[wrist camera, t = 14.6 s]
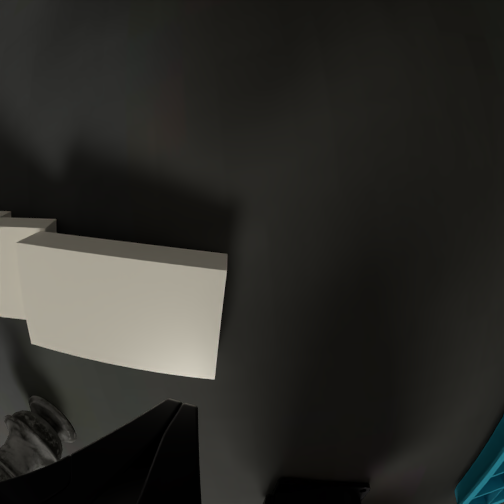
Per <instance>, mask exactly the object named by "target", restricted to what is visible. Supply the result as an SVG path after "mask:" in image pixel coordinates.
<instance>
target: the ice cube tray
mask: <svg viewBox="0 0 504 504" xmlns="http://www.w3.org/2000/svg"><path fill="white" fill-rule="evenodd" d="M455 496H456V501H457V504H500V503H502V502H504V415H503V417H502V419H501V421H500V422H499V424H498V426H497V427H496V429H495V431H494V433H493V434H492V436H491V437H490V439H489V441H488V442H487V444H486V445H485V447H484V449H483V450H482V452H481V453H480V455H479V456H478V458H477V459H476V460H475V462H474V463H473V465H472V466H471V468H470V469H469V470H468V472H467V473H466V474H465V476H464V477H463V478H462V480H461V481H460V482H459V484H458V485H457V486H456V488H455Z"/></svg>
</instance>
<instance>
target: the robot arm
mask: <svg viewBox="0 0 504 504" xmlns="http://www.w3.org/2000/svg"><path fill="white" fill-rule="evenodd" d="M369 491H370V485H369V484H368V483H337V482H320V481H309V480H299V479H290V478H282V479H279V481H278V483H277V485H276V487H275V489H274V491H273V493H272V495H270V494H269V495H268V496H266V497H265V500H264V502H263V504H361V500H362V499H363V498H364V497H365V496H366V494H367V493H368V492H369ZM0 504H201V488H200V467H199V438H198V407H197V406H195V405H191V404H187V403H183V404H182V402H180V401H176V400H173V399H166V400H164V401H163V402H161V403H160V404H158V405H156V406H155V407H153V408H152V409H150V410H148V411H147V412H145V413H143V414H142V415H140V416H138V417H137V418H135V419H133V420H132V421H130V422H128V423H126V424H125V425H123V426H121V427H120V428H118V429H116V430H114V431H113V432H111V433H109V434H107V435H105V436H104V437H102V438H100V439H98V440H97V441H95V442H93V443H91V444H89V445H87V446H85V447H84V448H82V449H80V450H78V451H76V452H74V453H72V454H71V456H70V455H68V456H66V457H64V458H62V459H60V460H58V461H56V462H54V463H52V464H50V465H48V466H45V467H43V468H40V469H38V470H35V471H32V472H29V473H27V474H23V475H20V476H17V477H14V478H10V479H7V480H3V481H0Z"/></svg>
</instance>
